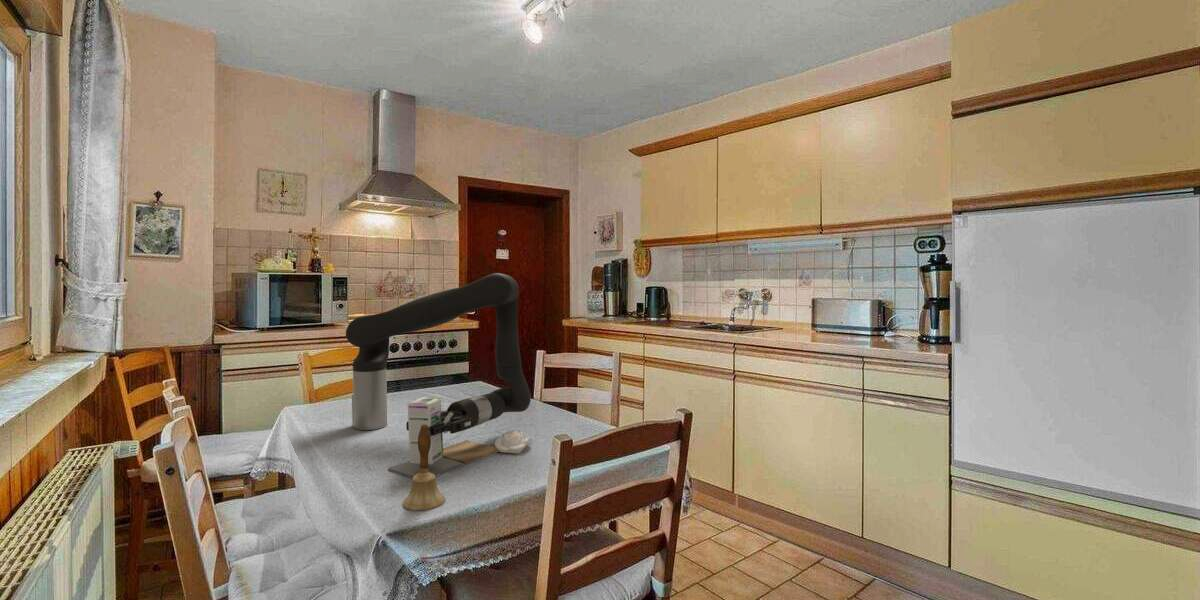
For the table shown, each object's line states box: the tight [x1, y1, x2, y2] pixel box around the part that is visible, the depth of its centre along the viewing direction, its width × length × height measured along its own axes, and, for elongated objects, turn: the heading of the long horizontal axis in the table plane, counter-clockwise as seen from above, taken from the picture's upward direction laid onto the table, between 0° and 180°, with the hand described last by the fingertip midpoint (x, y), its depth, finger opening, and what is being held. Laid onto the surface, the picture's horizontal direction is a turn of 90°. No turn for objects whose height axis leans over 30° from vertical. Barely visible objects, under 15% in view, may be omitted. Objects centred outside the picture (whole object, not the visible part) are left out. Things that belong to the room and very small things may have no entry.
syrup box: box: [407, 396, 444, 464], centre depth 132 cm, size 6×6×14 cm
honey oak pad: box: [443, 439, 499, 465], centre depth 143 cm, size 12×12×1 cm
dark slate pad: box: [387, 457, 463, 479], centre depth 132 cm, size 12×12×1 cm
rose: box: [493, 429, 532, 454], centre depth 146 cm, size 10×4×10 cm
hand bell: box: [402, 425, 446, 511], centre depth 113 cm, size 8×8×16 cm
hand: (418, 429), depth 130 cm, fingers closed on syrup box, 7 cm apart
